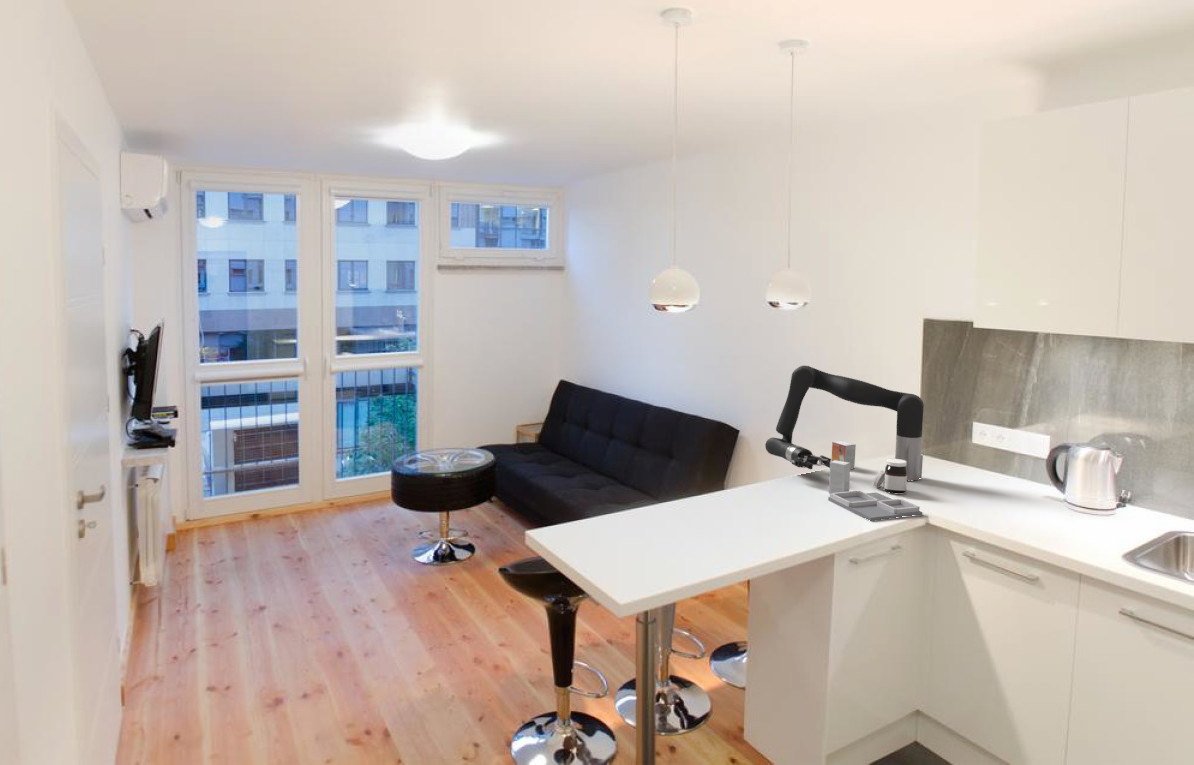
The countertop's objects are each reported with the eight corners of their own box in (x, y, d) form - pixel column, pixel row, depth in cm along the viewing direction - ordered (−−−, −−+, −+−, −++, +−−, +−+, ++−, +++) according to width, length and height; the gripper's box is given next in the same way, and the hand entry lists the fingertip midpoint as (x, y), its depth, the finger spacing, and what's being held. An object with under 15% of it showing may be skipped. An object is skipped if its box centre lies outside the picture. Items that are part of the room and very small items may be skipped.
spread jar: (907, 496, 267) (909, 464, 266) (874, 493, 271) (875, 462, 269) (904, 487, 279) (906, 457, 277) (872, 484, 282) (874, 455, 280)
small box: (830, 466, 310) (831, 441, 309) (841, 464, 313) (842, 440, 311) (844, 470, 303) (845, 445, 302) (854, 469, 305) (856, 444, 304)
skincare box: (849, 494, 269) (850, 462, 268) (843, 497, 266) (845, 464, 265) (833, 491, 274) (835, 459, 272) (828, 493, 271) (829, 461, 269)
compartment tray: (876, 495, 268) (876, 488, 268) (922, 515, 245) (922, 507, 245) (828, 500, 263) (828, 492, 262) (870, 521, 240) (870, 513, 239)
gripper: (783, 447, 292) (805, 457, 277) (815, 445, 296) (838, 455, 281) (782, 466, 294) (804, 476, 278) (814, 464, 297) (837, 474, 282)
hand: (821, 466), depth 280 cm, fingers open, 8 cm apart
